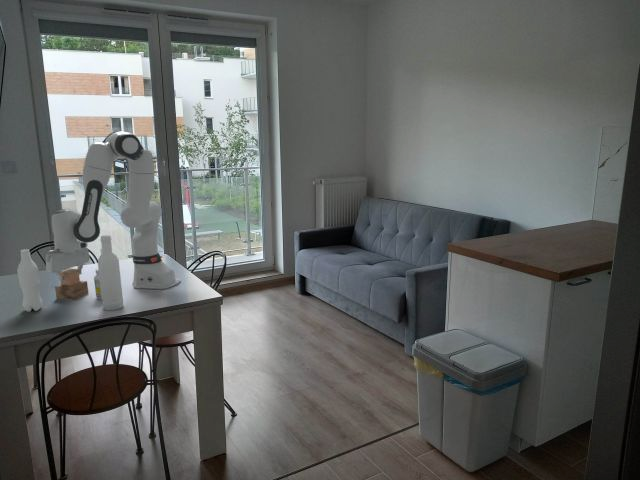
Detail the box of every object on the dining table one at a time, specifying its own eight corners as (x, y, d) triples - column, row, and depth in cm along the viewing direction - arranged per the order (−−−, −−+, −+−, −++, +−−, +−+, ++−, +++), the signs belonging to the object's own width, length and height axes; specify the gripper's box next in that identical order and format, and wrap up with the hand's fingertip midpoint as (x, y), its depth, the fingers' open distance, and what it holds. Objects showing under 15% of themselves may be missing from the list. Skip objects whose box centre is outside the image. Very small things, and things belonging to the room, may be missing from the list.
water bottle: (21, 313, 191) (12, 253, 185) (24, 308, 197) (15, 249, 192) (42, 311, 193) (33, 251, 188) (44, 305, 200) (36, 247, 195)
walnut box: (88, 294, 215) (87, 281, 214) (75, 300, 206) (73, 287, 205) (70, 293, 217) (69, 280, 215) (56, 299, 208) (54, 286, 207)
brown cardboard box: (80, 282, 212) (79, 269, 211) (70, 286, 207) (68, 272, 205) (70, 281, 214) (69, 268, 212) (60, 285, 209) (58, 271, 207)
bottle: (127, 304, 200) (120, 234, 193) (115, 311, 192) (107, 238, 186) (111, 303, 201) (103, 233, 195) (98, 309, 194) (90, 237, 188)
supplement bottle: (114, 294, 213) (111, 266, 210) (110, 299, 207) (107, 270, 204) (98, 295, 212) (95, 267, 209) (94, 300, 206) (91, 271, 203)
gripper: (51, 252, 196) (55, 284, 199) (90, 242, 215) (93, 271, 218) (40, 251, 198) (44, 283, 201) (79, 241, 217) (82, 270, 220)
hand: (70, 277), depth 210 cm, fingers open, 8 cm apart
